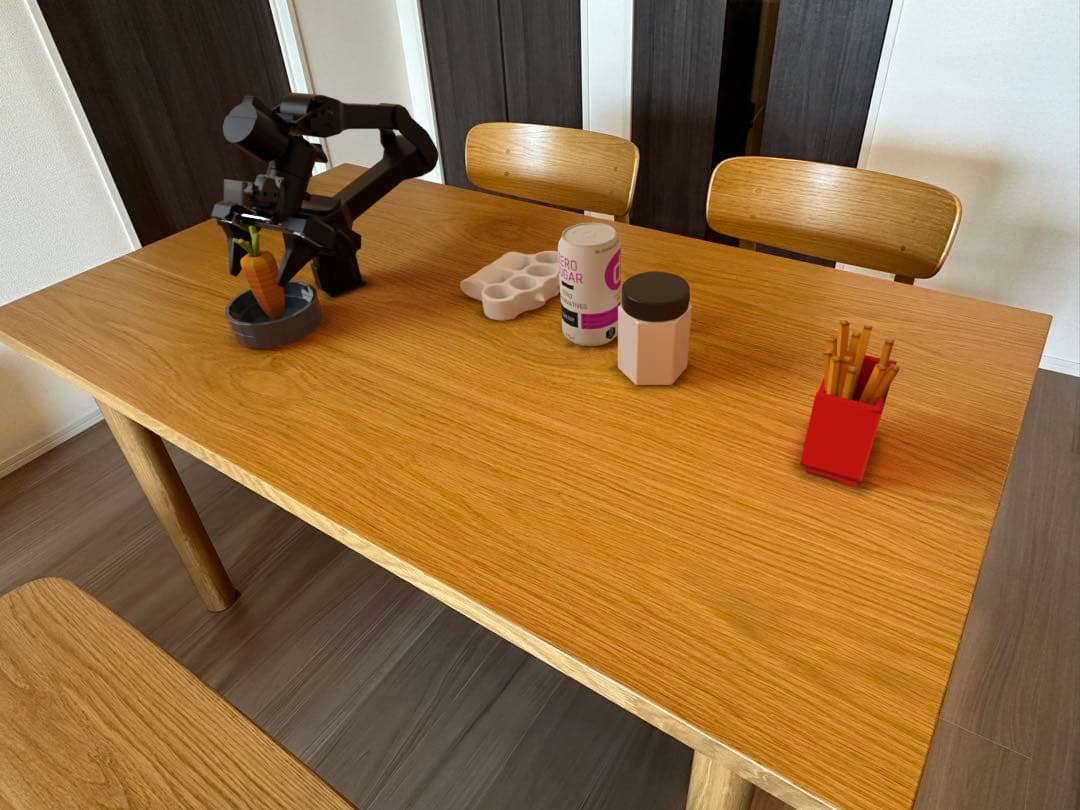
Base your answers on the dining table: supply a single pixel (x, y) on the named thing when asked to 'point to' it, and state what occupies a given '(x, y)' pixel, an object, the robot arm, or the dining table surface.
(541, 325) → the dining table surface
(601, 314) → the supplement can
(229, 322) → the bowl
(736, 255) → the dining table surface
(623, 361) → the jar
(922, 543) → the dining table surface
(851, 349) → the french fries container
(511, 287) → the white holed block
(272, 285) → the carrot
